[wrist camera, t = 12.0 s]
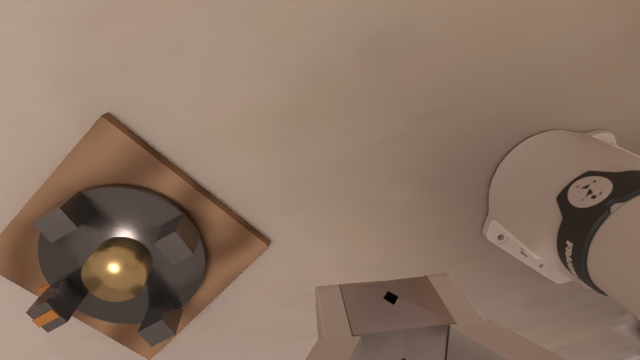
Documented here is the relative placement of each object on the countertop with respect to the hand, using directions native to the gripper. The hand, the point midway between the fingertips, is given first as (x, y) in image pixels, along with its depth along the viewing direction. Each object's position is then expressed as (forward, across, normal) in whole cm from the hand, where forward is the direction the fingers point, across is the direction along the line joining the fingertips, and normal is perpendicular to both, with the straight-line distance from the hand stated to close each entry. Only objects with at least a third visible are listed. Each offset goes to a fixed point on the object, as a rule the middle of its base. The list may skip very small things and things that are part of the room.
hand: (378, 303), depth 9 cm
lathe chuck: (+32, +20, +17) cm, 41 cm away
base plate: (+34, +20, +17) cm, 43 cm away
